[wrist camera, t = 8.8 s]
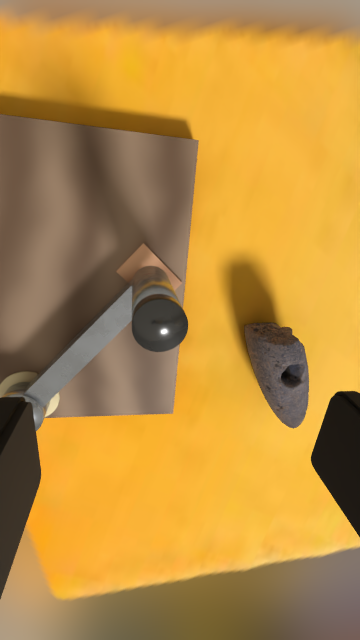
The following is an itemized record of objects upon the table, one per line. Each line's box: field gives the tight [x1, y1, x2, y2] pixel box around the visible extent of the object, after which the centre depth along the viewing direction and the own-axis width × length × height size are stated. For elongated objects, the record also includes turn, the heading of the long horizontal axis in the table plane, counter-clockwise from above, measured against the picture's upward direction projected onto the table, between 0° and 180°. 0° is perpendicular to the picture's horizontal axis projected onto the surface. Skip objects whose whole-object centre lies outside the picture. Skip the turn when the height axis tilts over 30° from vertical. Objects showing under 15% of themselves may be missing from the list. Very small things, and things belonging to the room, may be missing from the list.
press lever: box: [3, 266, 188, 431], centre depth 23 cm, size 4×22×11 cm, turn 133°
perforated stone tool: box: [244, 323, 309, 428], centre depth 32 cm, size 15×5×7 cm, turn 18°
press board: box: [0, 114, 198, 418], centre depth 28 cm, size 19×28×2 cm
